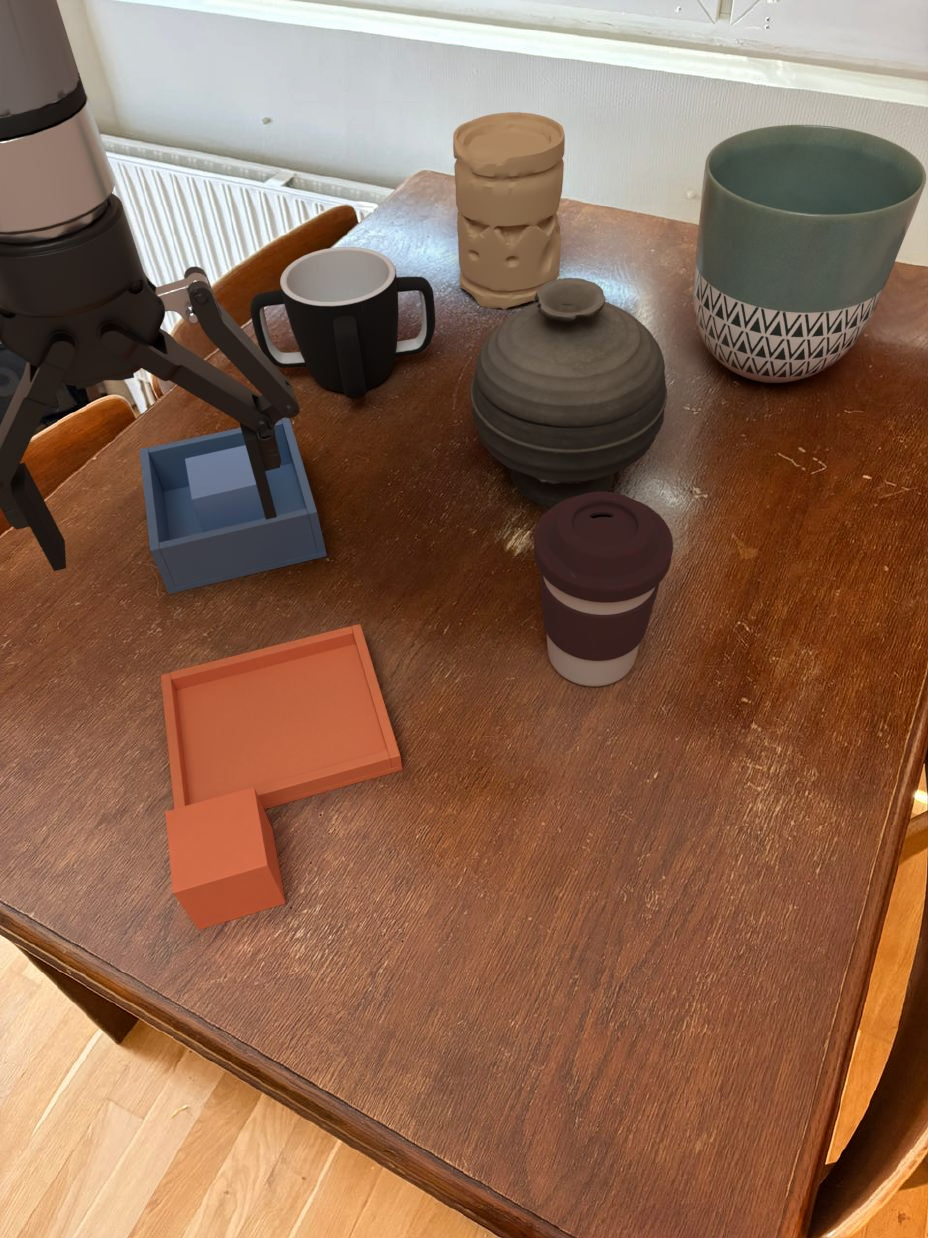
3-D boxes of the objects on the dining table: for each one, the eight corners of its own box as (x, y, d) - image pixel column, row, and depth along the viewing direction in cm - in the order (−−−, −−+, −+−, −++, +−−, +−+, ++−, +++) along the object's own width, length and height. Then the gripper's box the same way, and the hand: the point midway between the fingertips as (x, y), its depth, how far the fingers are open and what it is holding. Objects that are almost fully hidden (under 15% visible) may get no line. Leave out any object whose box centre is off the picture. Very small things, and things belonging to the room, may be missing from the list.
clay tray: (183, 832, 65) (174, 819, 64) (167, 689, 74) (160, 674, 72) (403, 770, 68) (400, 755, 66) (363, 639, 77) (360, 623, 75)
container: (513, 321, 108) (513, 167, 94) (439, 287, 114) (429, 137, 100) (579, 280, 114) (588, 129, 100) (505, 250, 120) (504, 103, 106)
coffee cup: (620, 722, 70) (640, 592, 59) (509, 671, 74) (508, 541, 62) (670, 636, 75) (698, 503, 64) (565, 593, 79) (574, 460, 68)
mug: (452, 367, 102) (447, 268, 93) (348, 434, 95) (330, 333, 86) (357, 318, 110) (343, 222, 101) (254, 376, 103) (228, 278, 94)
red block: (198, 930, 60) (172, 893, 56) (189, 852, 64) (164, 811, 60) (285, 903, 61) (267, 865, 57) (272, 828, 65) (254, 786, 61)
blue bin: (169, 594, 81) (149, 550, 77) (156, 493, 90) (139, 449, 86) (327, 556, 83) (317, 511, 79) (299, 461, 93) (289, 416, 88)
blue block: (209, 547, 84) (191, 499, 79) (201, 506, 88) (184, 458, 83) (272, 532, 85) (258, 483, 80) (262, 492, 89) (248, 444, 84)
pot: (541, 565, 80) (539, 361, 66) (443, 471, 92) (425, 280, 78) (696, 496, 86) (724, 294, 72) (586, 415, 98) (592, 229, 84)
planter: (860, 429, 92) (933, 223, 76) (665, 406, 96) (695, 206, 80) (857, 326, 104) (920, 130, 88) (685, 309, 108) (714, 118, 92)
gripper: (280, 136, 48) (337, 453, 64) (-231, 220, 43) (-31, 539, 59) (310, 193, 43) (363, 521, 59) (-261, 295, 38) (-35, 619, 54)
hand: (166, 530), depth 59 cm, fingers open, 13 cm apart
